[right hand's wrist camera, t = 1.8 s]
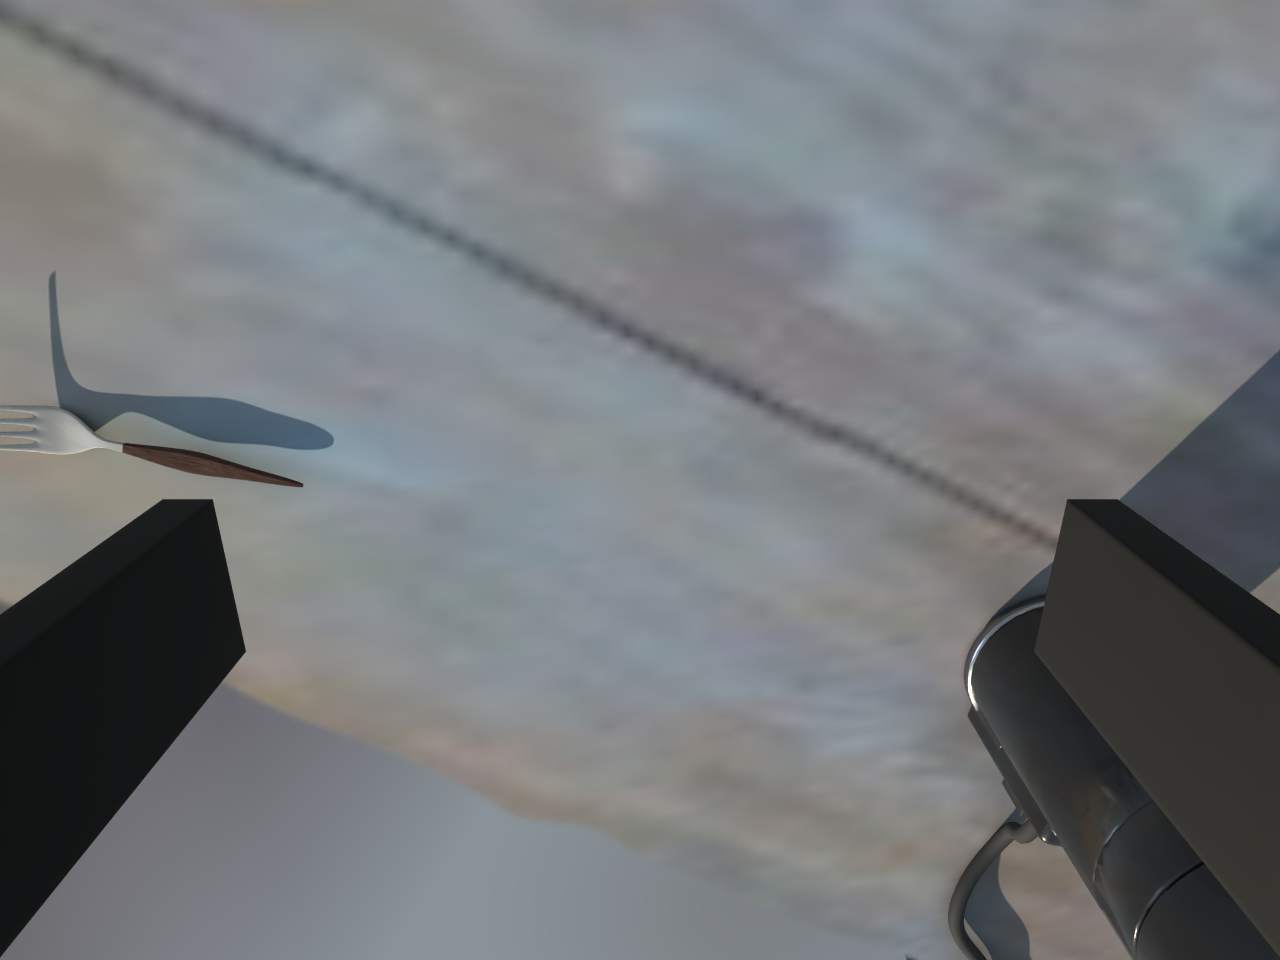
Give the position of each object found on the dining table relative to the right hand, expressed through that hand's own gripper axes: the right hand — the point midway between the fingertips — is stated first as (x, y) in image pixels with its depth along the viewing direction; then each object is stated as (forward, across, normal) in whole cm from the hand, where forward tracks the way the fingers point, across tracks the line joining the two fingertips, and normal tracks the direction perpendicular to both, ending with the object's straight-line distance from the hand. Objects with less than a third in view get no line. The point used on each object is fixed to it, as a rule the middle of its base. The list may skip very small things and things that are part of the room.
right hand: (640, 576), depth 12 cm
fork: (+28, -25, -8) cm, 39 cm away
